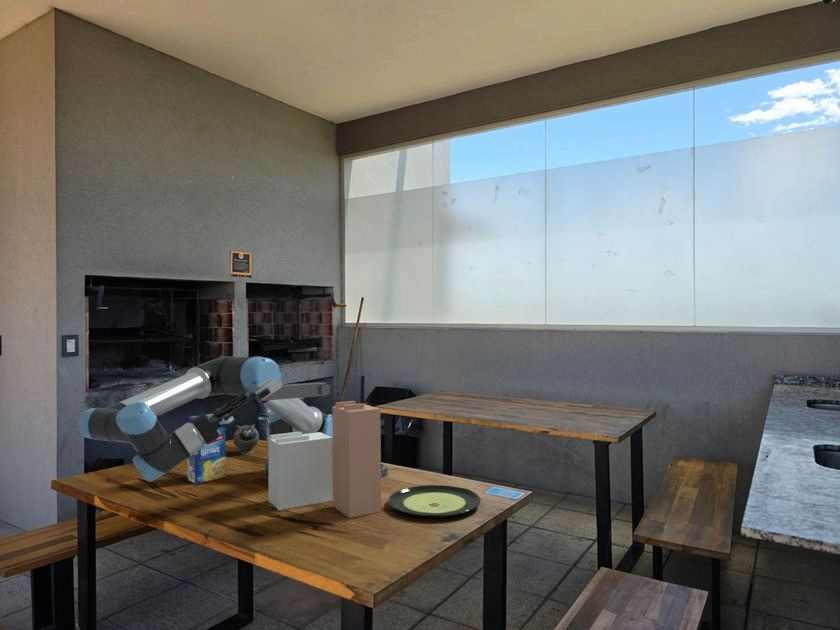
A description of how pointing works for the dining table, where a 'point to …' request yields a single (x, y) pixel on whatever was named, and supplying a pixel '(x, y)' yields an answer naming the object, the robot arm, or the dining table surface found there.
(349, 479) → the stand
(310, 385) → the t bar
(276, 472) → the rest
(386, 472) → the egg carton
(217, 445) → the beverage box
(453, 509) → the plate
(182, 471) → the dining table surface
